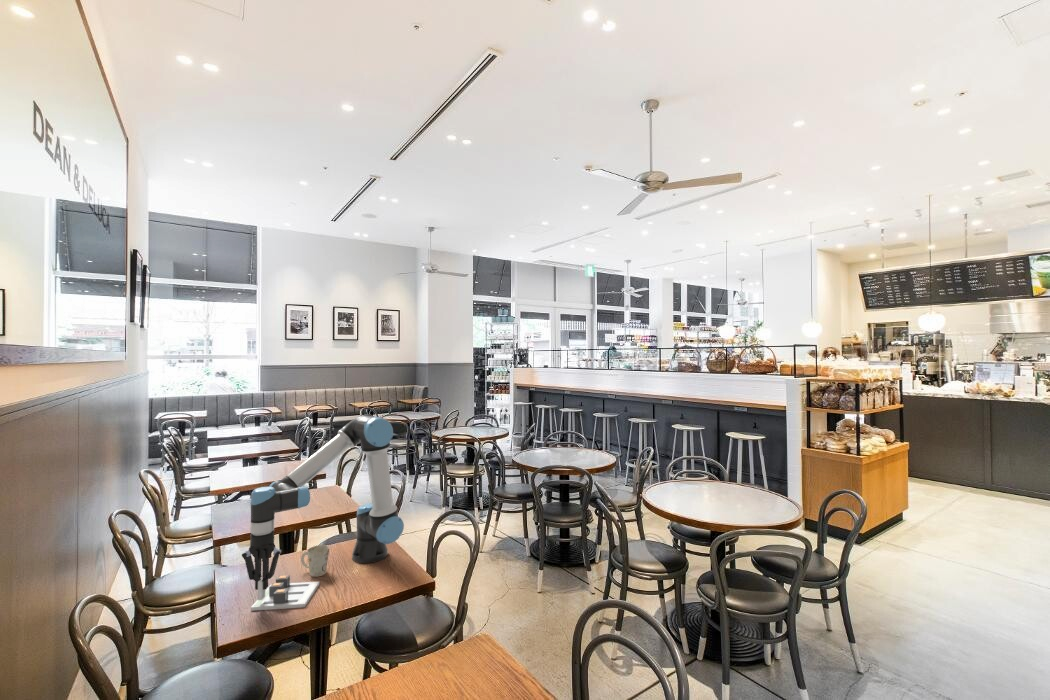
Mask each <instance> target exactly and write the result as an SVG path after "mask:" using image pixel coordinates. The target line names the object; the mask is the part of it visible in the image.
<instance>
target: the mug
mask: <svg viewBox="0 0 1050 700" xmlns="http://www.w3.org/2000/svg"><path fill="white" fill-rule="evenodd" d="M329 554H330V546H329V545H327V544H319V545H314V546H312V547H310V548H308V549H307V551H304V552H303V553H302V554H301V557H300V561H301V564H302V566H303V567H305V568H306V569H308V570H309V574H310V576H311V577H315V578H316V577H320V576H321V577H322V576H323V575H325V574H326V573H327V568H328V560H329ZM306 556H307V559H308V560H307V561H308V564H307V563H306V562H305V557H306Z"/></svg>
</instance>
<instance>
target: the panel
mask: <svg viewBox="0 0 1050 700" xmlns="http://www.w3.org/2000/svg"><path fill="white" fill-rule="evenodd" d="M319 586H320V581H308V582H305V581H304V582H291V575H278V576H277V577H276V579H275V582H273V583H271V584H269V585H268V587H267V589H265V597H264V598H263V600H258V599H257V600H255V602H254V603H253V604H252V605H251V606H250V611H251V612H252V611H267V610H280V609H282V610H284V609H297V608H305V607H307V604H308V603H309V601H310V600H311V598H312V597H313V595H314V593H315V592H316V591H317V589H318V588H319ZM278 589H288V600H287V601H286V602H285V603H275V604H273V594H274V592H275V591H276V590H278Z"/></svg>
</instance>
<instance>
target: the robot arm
mask: <svg viewBox="0 0 1050 700" xmlns="http://www.w3.org/2000/svg"><path fill="white" fill-rule="evenodd" d="M393 437H394V428H393V425H392V424H391V422H390V421H389V420H387V419H385V418H383V417H381V416H373V415H369V414H364V415H363V414H362V415H360V416H357V417H355V418H353V419H352V420H351V421H349V422H348V423H346V424H345V425H344V426H342V428H341V427H340V429H339V430H338V431H337V435H335V436H334V437H333V438H331V439H330V440H329V441H328V442H327V443H324V445H323V446H322V447H320V448H319V449H318V450H317V451H316V452H314V453H313V454H312V455H310V457H308V458H307V459H305V460H304V461H303V462H301V464H300V465H298V466H297V467H295V468H294V469H293V470H292V471H290V472H289V473H287V475H286V476H285V477H283V478H282V479H281V480H279V479H278V480H275V481H273V482H271V484H269V486H261V487H256V488H254V489H253V490H252V492H251V495H250V496H251V497H250V503H249V504H250V533H251V534H249V535H250V536H249V544H250V545H249V548H248V550H244V552H243V553H242V554H241V557H242V558H243V560H244V562H245V566H246V571H247V575H248V578H249V580H250V581H252V580H253V581H254V582H255V583H254V590H255V591H257V600H263V598H264V597H265V590H266V589H267V588H268V587H269V580H271V579H272V577H274V575H275V572H276V568H277V564H278V560H279V557H280V555H281V554H282V552H283V549H281V548H279V549H278V548H277V547H276V544H275V517H276V516H275V515H276V513H281V512H286V511H291V510H296V509H301V508H304V507H307V506H309V504H310V502H311V493H310V492H311V491H310V489H309V488H308V487H307V486H305V485H306V484H308V483H309V482H310V481H311V480H313V479H314V478H315V477H316V476H317V475H318V474H319V473H320V472H322V471H323V470H325V468H327V467H328V466H330V464H332V463H333V462H334V461H335V460H336V459H337V458H339V457H340V456H341V455H342V454H344V453H346V451H347V450H348V449H349V448H352V449H354V448H355V446H356V445H358V444H360V448H361V452H363V453H364V454H365V457H366V464H367V465H366V466H367V473H368V474H367V475H368V481H369V482H368V483H369V489H370V491H369V492H370V498H371V503H367V504H362V505H360V506H358V508H357V509H356V510H357V511H356V541H355V544H354V547H353V551H352V553H351V554H352V555H351V557H352V558H351V559H352V561H354V562H355V563H357V564H358V563H360V564H369V563H370V564H371V563H376V562H378V561H381V560H384V559H385V558H386V557H387V556H388V547H387V545H389V544H393V543H395V542H396V541H397V540H399V539H400V537H401V535H402V534H403V532H404V528H405V524H404V521H403V519H402V518H401V517H400V516H399V513H398V507H397V505H396V504H394V500H393V491H392V484H391V476H390V474H391V473H390V468H389V467H390V463H389V457H388V450H389V449H390V448H391V440H392V439H393ZM271 554H272V555H273V557H272V559H271V562H270V556H271ZM252 556H253V558H252ZM253 559H254V561H253Z"/></svg>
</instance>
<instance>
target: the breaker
mask: <svg viewBox="0 0 1050 700" xmlns="http://www.w3.org/2000/svg"><path fill="white" fill-rule="evenodd" d="M287 600H288V589H278V590H276V591H275V592H274V594H273V604H275V603H285V602H286V601H287Z"/></svg>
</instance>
